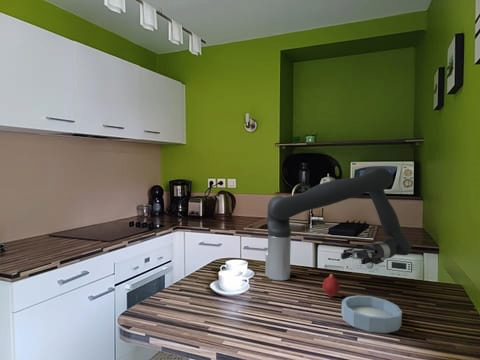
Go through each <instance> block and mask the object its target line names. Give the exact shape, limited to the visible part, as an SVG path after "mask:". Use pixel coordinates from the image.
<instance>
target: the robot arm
mask: <svg viewBox="0 0 480 360" xmlns="http://www.w3.org/2000/svg"><path fill="white" fill-rule="evenodd" d="M393 179H394V178H393V174H392V172H391V171H390V170H388V169H387V168H384V167H380V166H379V167H378V166H377V167H376V166H370V167H367V168H366V169H365V170H363V172H362V175H360V176H355V177H348V178H346V177H345V178H340V179H333V180H329V181H326V182H323V183H319V184H317V185H315V186H313V187H311V188H310V189H307V190H306V191H304V192H302V193H298V194H293V195H288V196H281V195H276V196H273V197H272V198H271V199H270V200H269V201H268V204H267V233H268V234H267V236H268V237H267V252H266V253H265V271H264V273H265V275H264V276H265V277H267V278H268V279H270V280H274V281H287V280H289V279H291V277H290V276H291V250H292V249H291V247H292V246H291V245H292V244H291V242H292V240H291V239H292V230H291V224H290V219H291V218H292V217H294V216H296V215H299V214H301V213H304V212H307V211H311V210H315V209H319V208H323V207H328V206H331V205H333V204H337V203H339V202H343V201H345V200H348V199H349V200H350V199H352V198H354V197H355V198H356V197H358V196H361V195H365V194H367V193H368V195H369V196H370V197H369V198H371V201H372V203H373V205H374V208H375V210H376V213H377V215H378V219H379V222H380V225H381V228H382V231H383V234H384V235H385V236H388V237H387V238H385V239H384V240H382V241H376V242H375V241H374V242H370V243H367V244H365V245H364V246H363V247H362V248H359V249H355V247H350V248H346V249H343V252H341V253H340V258H341V259H342V260H346V259H353V260H360V261H361V264H362V265H366V264H370V265H373V264H374V265H379V264H382V263H384V262H385V260H387V259H390V258H392V257H394V256H408V255H409V254H411V252H412V244H411V241H410V239H409V238H408V237H407V235H406V233H405V231H404V230H403V229H402V227H401V224H400V221H399V218H398V215H397V213H396V211H395V209H394V207H393V206H392V205H393V204H391V202H390V200H389V198H388V196H387V195H386V192H385V190H386V189H387V188H389V187H390V186H391V184H392V183H393Z"/></svg>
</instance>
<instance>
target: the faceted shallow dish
mask: <svg viewBox="0 0 480 360" xmlns="http://www.w3.org/2000/svg"><path fill="white" fill-rule="evenodd" d="M341 317H342V319H343V321H344V322H345V323H347V324H348V325H351V326H352V327H354V328H356V329H360V330H363V331H366V332H370V333H379V334H389V333H393V332H396V331H399V329H400V328H401V326H402V317H403V311H402V310H401V308H400V307H399V306H398V305H397V304H396V303H393V302H392V301H389V300H387V299H384V298H379V297H375V296H373V295H372V296H370V295H358V294H357V295H352V296H351V295H350V296H346V297H345V298H343V299H342V301H341Z"/></svg>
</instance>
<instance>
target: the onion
mask: <svg viewBox="0 0 480 360" xmlns="http://www.w3.org/2000/svg"><path fill="white" fill-rule="evenodd" d="M340 289H341V285H340V282H339V280H338V279H337V278H336V277H335V276H334V275H333V274H329V276H328V277H326V278H325V279H324V280H323V282H322V290H323V291H324V293H325V294H327V295H328V297H329V298H332V297H334V296H336V295H337V294H338V293H339V291H340Z"/></svg>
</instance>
